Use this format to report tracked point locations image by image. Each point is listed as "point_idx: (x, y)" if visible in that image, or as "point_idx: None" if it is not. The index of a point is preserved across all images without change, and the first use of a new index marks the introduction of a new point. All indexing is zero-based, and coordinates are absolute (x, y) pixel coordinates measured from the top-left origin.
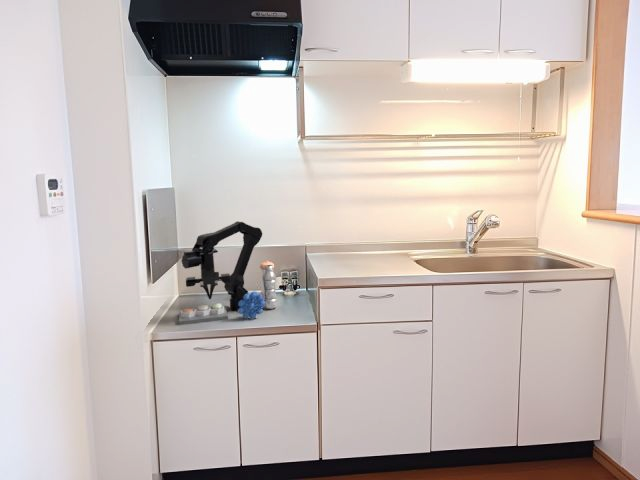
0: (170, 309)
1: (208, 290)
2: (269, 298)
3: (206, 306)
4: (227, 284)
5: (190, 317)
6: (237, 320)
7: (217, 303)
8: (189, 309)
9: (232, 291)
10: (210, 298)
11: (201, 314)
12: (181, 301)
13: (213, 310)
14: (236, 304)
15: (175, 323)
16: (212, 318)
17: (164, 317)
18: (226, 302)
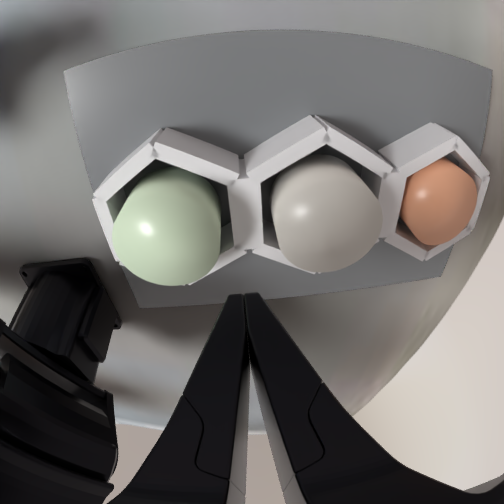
0: (429, 333)
1: (281, 434)
2: None
3: (290, 208)
4: (73, 467)
5: (421, 121)
6: (16, 44)
7: (165, 282)
8: (437, 216)
9: (9, 378)
10: (237, 300)
11: (335, 128)
12: (361, 394)
13: (203, 157)
14: (51, 296)
15: None
16: (217, 33)
17: (491, 240)
18: (169, 377)
